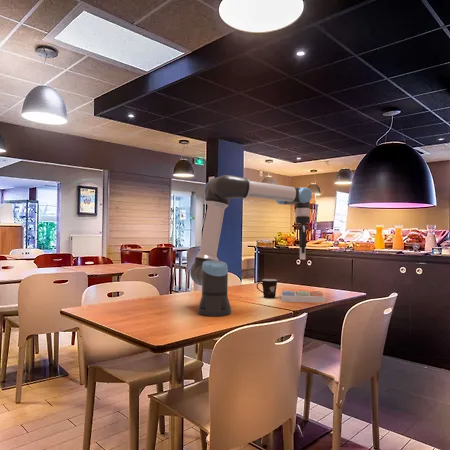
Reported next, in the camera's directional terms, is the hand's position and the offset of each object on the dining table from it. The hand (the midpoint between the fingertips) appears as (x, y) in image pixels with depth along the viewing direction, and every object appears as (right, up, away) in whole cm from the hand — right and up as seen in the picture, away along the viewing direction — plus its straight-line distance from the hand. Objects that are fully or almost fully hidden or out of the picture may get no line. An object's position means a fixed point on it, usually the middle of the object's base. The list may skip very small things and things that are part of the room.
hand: (302, 259), depth 212 cm
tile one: (-8, -21, 0) cm, 22 cm away
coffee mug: (-19, -23, +8) cm, 30 cm away
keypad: (0, -22, 0) cm, 22 cm away
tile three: (+7, -21, -1) cm, 22 cm away
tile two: (0, -21, 0) cm, 21 cm away
